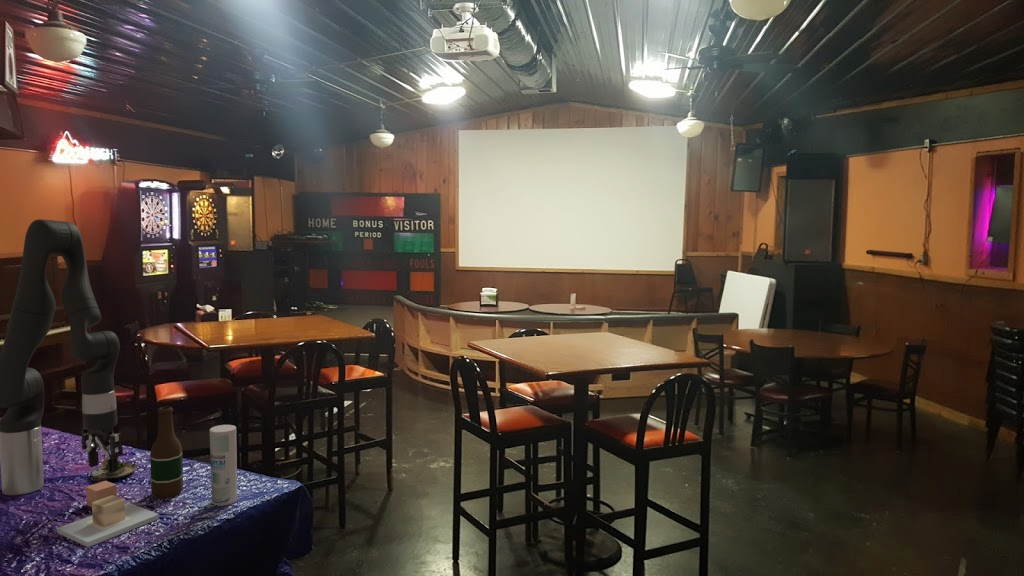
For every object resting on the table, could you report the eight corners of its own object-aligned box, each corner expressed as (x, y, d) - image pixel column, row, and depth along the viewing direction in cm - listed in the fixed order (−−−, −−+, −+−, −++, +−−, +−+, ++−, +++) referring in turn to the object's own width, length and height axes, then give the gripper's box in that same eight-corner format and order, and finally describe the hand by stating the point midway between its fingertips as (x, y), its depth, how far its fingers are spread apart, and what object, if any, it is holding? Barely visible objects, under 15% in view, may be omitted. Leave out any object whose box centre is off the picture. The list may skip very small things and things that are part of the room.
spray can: (242, 497, 179) (241, 425, 177) (227, 507, 173) (226, 433, 171) (221, 494, 180) (219, 423, 178) (205, 504, 174) (204, 430, 172)
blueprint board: (57, 532, 157) (57, 527, 157) (128, 506, 171) (128, 502, 171) (87, 547, 150) (87, 541, 150) (158, 518, 165) (158, 513, 165)
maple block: (92, 522, 160) (91, 502, 159) (113, 514, 164) (112, 495, 164) (104, 527, 157) (103, 507, 157) (125, 519, 162) (124, 499, 161)
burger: (103, 486, 184) (102, 460, 184) (82, 477, 190) (81, 452, 190) (146, 473, 194) (145, 448, 194) (124, 464, 201) (123, 441, 200)
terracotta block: (86, 505, 172) (85, 486, 171) (106, 498, 176) (105, 480, 176) (97, 509, 170) (96, 491, 169) (117, 502, 174) (116, 484, 173)
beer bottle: (170, 500, 176) (167, 413, 173) (144, 497, 177) (141, 410, 175) (189, 489, 183) (187, 405, 181) (165, 486, 185) (162, 402, 182)
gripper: (130, 408, 171) (133, 469, 172) (98, 401, 177) (102, 459, 179) (100, 416, 164) (104, 479, 166) (68, 408, 171) (72, 468, 172)
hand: (103, 469), depth 172 cm, fingers open, 8 cm apart
